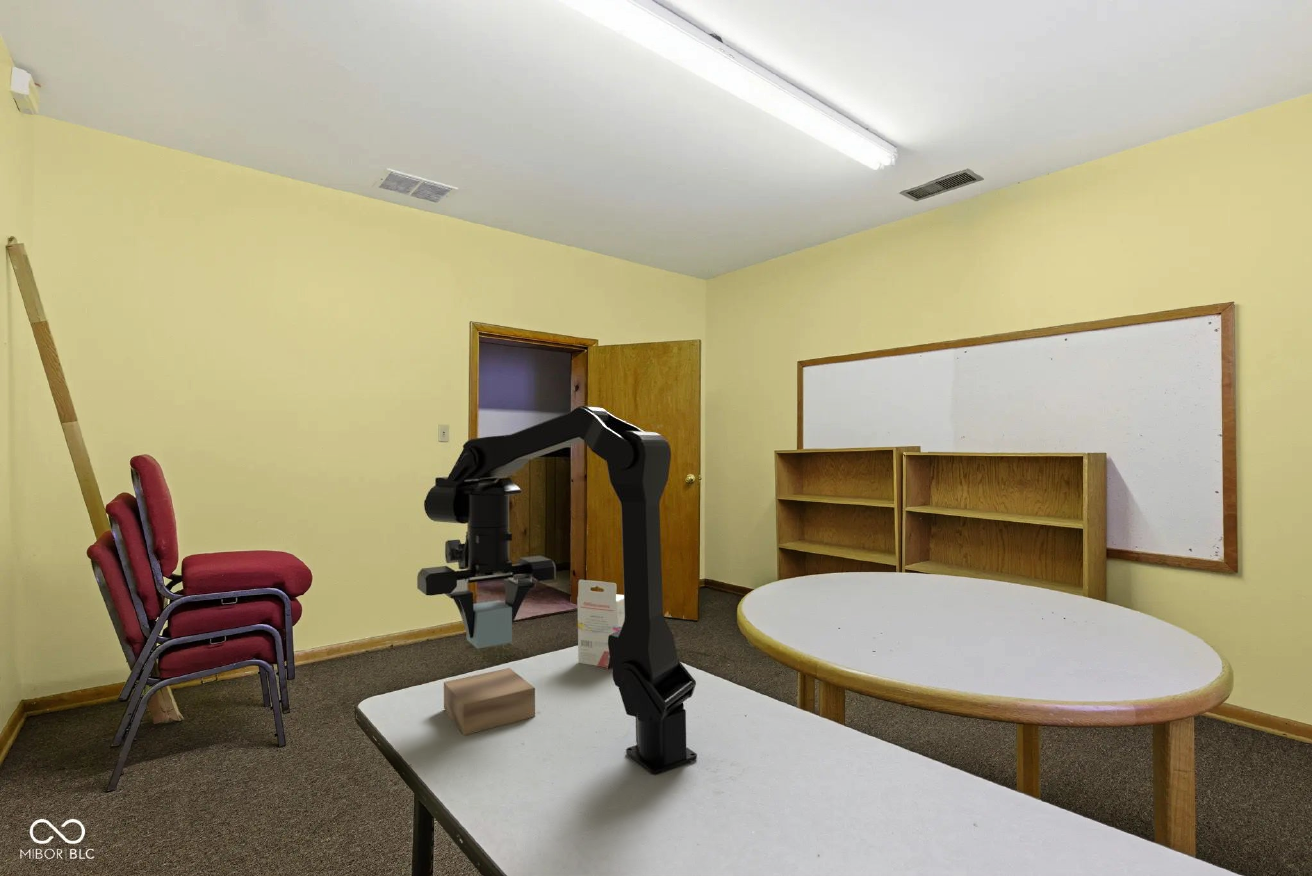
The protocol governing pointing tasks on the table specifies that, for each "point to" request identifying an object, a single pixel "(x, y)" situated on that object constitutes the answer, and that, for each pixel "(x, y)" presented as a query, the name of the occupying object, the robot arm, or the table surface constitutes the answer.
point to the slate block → (491, 624)
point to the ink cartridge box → (597, 620)
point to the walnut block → (488, 700)
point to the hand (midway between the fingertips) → (489, 634)
